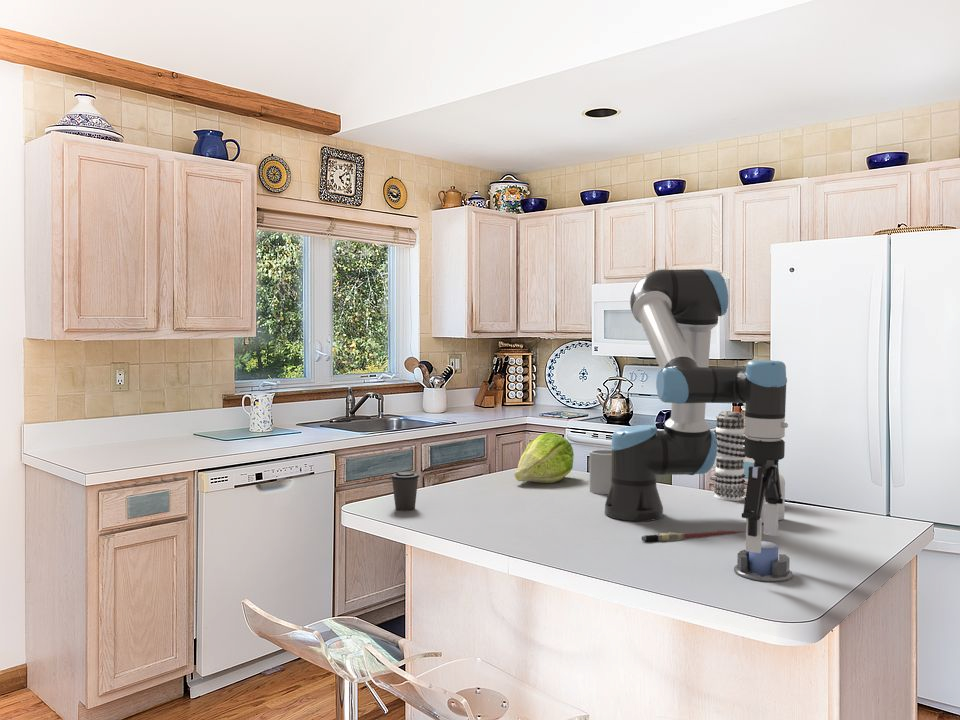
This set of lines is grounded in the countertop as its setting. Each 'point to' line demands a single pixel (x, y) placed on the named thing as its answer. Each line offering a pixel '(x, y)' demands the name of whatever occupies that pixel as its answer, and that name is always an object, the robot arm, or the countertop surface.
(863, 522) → the countertop surface
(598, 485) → the cup
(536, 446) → the lettuce
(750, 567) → the blue dome-topped cylinder
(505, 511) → the countertop surface
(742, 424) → the decorative candle
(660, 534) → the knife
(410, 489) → the coffee cup
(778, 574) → the disc
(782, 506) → the photo printer
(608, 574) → the countertop surface
